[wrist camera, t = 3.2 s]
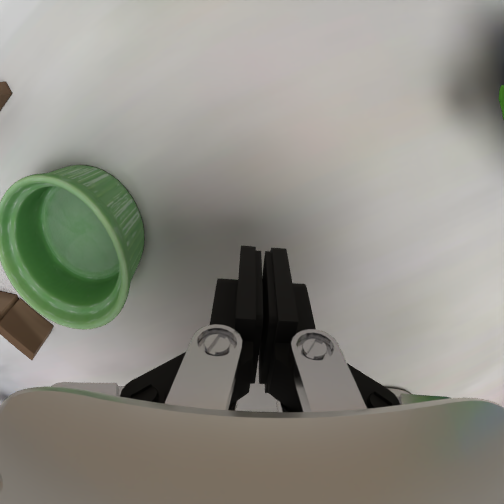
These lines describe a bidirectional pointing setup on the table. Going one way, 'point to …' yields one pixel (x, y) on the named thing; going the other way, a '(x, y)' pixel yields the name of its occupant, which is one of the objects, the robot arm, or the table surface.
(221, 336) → the robot arm
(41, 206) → the ramekin
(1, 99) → the walnut holder
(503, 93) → the snack cup
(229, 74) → the table surface
